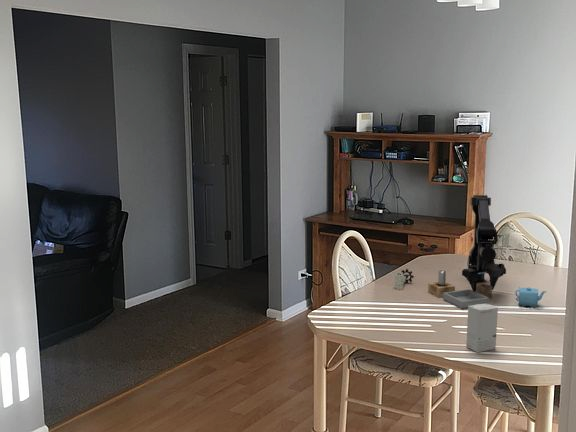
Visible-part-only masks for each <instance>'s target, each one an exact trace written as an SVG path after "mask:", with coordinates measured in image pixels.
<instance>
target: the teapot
mask: <svg viewBox="0 0 576 432" xmlns="http://www.w3.org/2000/svg"><path fill="white" fill-rule="evenodd" d="M518 288H519V289H517V290H516V291H515V292H514V293H515V296H516V297H515V298H516V301H517V302H518V305H519V306H521V307H522V308H525V307H526V306H527V307H528V306H529V307H530V308H532V309H534V307H538V303H539V301H540V300H542V298H543V295H544V294H545V293H547V292H548V291H546V290H543V291H541V292H540V294H539V289H538V288H532V287H530V286H529V287H528V286H527V287H518ZM517 292H518V293H517Z"/></svg>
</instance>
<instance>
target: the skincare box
mask: <svg viewBox="0 0 576 432" xmlns="http://www.w3.org/2000/svg"><path fill="white" fill-rule="evenodd" d="M498 312H499V308H498V307H497V306H496V305H492V304H490V303H489V304H487V303H486V304H476V305H471V306H468V308H467V323H466V324H467V325H466V326H467V327H466V343H465V346H466V347H467V348H468V349H470V350H471V351H473V352H475V353H481V352H486V351H490V350H491V351H492V350H495V349H496V346H497V330H498V329H497V328H498Z"/></svg>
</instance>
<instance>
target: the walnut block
mask: <svg viewBox="0 0 576 432" xmlns="http://www.w3.org/2000/svg"><path fill="white" fill-rule="evenodd" d="M476 292H477V293H479V294H481V295H483V296H486V297H488V298H489V299H490V298H492V297H493V295H492V294H493V290H492V286H490V284H487V283H486V282H481V283H476Z"/></svg>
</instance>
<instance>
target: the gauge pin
mask: <svg viewBox="0 0 576 432" xmlns="http://www.w3.org/2000/svg"><path fill="white" fill-rule="evenodd" d="M446 276H447V271H446V270H444V269H443V270H438V276H437V277H438V279H437V282H438V286H440V287H442V286H445V282H447V281H446V278H447V277H446Z"/></svg>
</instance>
